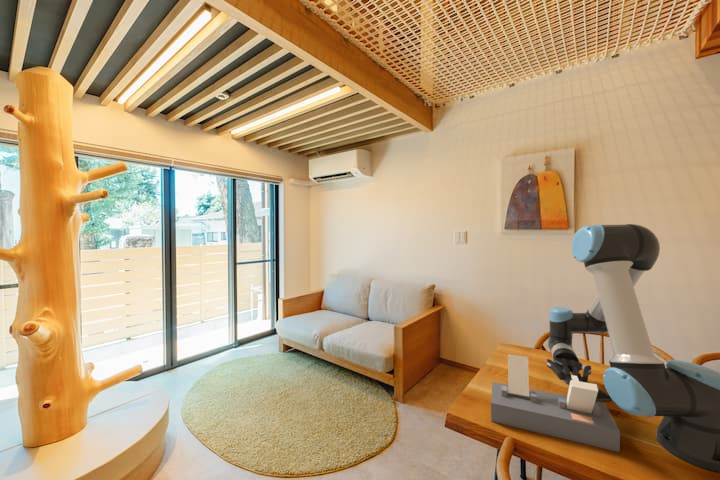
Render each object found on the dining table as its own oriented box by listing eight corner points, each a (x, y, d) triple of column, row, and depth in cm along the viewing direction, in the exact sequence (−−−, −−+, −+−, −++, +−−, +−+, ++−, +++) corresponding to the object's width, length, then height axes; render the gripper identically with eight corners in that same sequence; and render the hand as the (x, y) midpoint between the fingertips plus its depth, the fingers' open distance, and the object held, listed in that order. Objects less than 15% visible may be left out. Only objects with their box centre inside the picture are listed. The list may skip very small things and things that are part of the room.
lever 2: (566, 402, 92) (570, 379, 86) (590, 406, 89) (596, 384, 83) (567, 408, 90) (571, 386, 84) (591, 413, 88) (598, 391, 82)
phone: (592, 399, 104) (561, 378, 119) (592, 403, 104) (561, 380, 119) (614, 398, 104) (579, 376, 119) (614, 401, 104) (579, 379, 119)
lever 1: (508, 392, 100) (507, 354, 104) (528, 396, 97) (527, 357, 101) (508, 392, 98) (508, 354, 102) (529, 396, 95) (528, 357, 99)
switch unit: (492, 398, 107) (492, 376, 107) (603, 421, 93) (604, 396, 93) (491, 421, 95) (491, 396, 94) (619, 452, 81) (620, 423, 80)
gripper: (586, 371, 107) (605, 407, 85) (543, 364, 112) (552, 397, 91) (586, 350, 106) (606, 382, 85) (544, 344, 112) (552, 373, 91)
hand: (578, 389), depth 88 cm, fingers closed
